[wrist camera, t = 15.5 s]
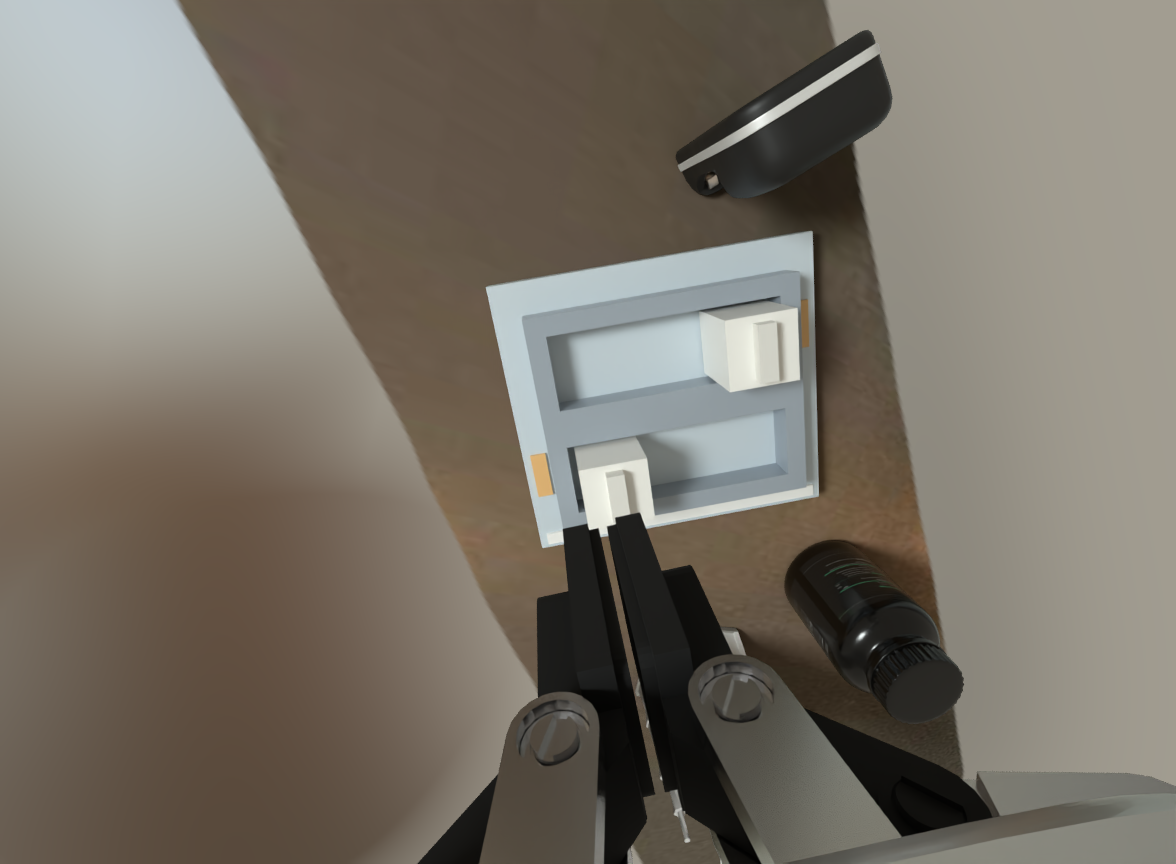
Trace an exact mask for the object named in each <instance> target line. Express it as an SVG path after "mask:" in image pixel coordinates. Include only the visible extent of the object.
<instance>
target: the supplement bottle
mask: <svg viewBox="0 0 1176 864" xmlns="http://www.w3.org/2000/svg"><path fill="white" fill-rule="evenodd" d="M785 593H786V596H787V599H788V601H789V602H790V604H791V606H792V607H793V609H794V610H795V612H796V613H797V614H798V616H799V617H800V619H801V620H802V622H803V623H804V624H805V626H806V627H807V629H808V630H809V631H810V633H811V634H812V636H813V637H814V639H815V640H816V641H817V643H818V644H819V646H820V647H821V648H822V650H823V651H824V653H825V654H826V656H827V657H828V658H829V660H830V661H831V663H832V664H833V666H834V667H835V668H836V670H837V671H838V673H839V674H840V675H841V676H842V677H843V679H844V680H845V681H846V682H848V683H849V684H850V685H852V686H853V687H855V688H857V689H859V690H861V691H864V692H867V693H871V694H873V696H874V697H875V698H876V699H877V700H878V701H879V702H880V703H881V704H882V705H883V707H884V708H885V709H886V710H887V712H888V713H889V714H890V715H891V716H892V717H894V718H895V719H896V720H899V721H901V722H902V723H908V724H912V723H913V724H918V723H925V722H927V721H932V720H933V719H936V718H939V717H940V716H941V715H943V714H945V713H946V712H947V711H948V710H950V709H951V708H952V706H953V705H954V704H956V702H957V700H958V699H959V698H960V696H961V693H962V691H963V685H964V683H963V679H964V678H963V677H962V672H961V671H960V670H959V668H958V666H957V665H956V664H955V663H954V662H953V661H952V660H951V659H950V658H949V657H948V656H947V654H946V653H945V652H944V651H943V649H942V648H941V647H940V638H939V633H938V629H937V627H936V624H935V623H934V621H933V619H932V618H931V617H930V616H929V615H928V614H927V613H926V611H925V610H924V609H923V608H922V607H921V606H919V605H918V604H917V603H916V602H915V601H914V600H913V599H912V598H911V597H910V596H909V595H908V594H907V593H906V592H905V591H904V590H902V589H901V588H900V587H899V586H898V585H897V584H896V583H895V582H894V581H893V580H892V579H891V578H890V577H889V576H888V575H887V574H885V573H884V572H883V571H882V570H881V569H880V568H879V567H878V566H877V565H876V564H875V563H874V562H873V561H872V560H871V559H870V558H868V557H867V556H866V555H865V554H864V553H863V552H862V551H861V550H859V549H858V548H857V547H855V546H853V545H851V544H849V543H846V542H842V541H825V542H821V543H817V544H815V545H812V546H810V547H808V548H807V549H805V550H804V551H802V552H801V553H800V554H799V555H798V556H797V557H796V558H795V559H794V560H793V562H792V563H791V565H790V566H789V568H788V571H787V573H786V577H785Z"/></svg>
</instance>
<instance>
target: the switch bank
mask: <svg viewBox="0 0 1176 864" xmlns="http://www.w3.org/2000/svg"><path fill="white" fill-rule="evenodd" d="M486 290H487V294H488V299H489V304H490V308H491V313H492V317H493V322H494V327H495V331H496V336H497V341H498V345H499V350H500V354H501V359H502V364H503V368H504V373H505V377H506V382H507V387H508V391H509V396H510V401H511V405H512V410H513V414H514V419H515V424H516V428H517V433H518V438H519V442H520V447H521V451H522V456H523V461H524V465H525V470H526V474H527V479H528V484H529V488H530V493H531V498H532V502H533V507H534V511H535V516H536V521H537V525H538V530H539V535H540V539H541V544H542V548H545V547H551V546H556V545H561V544H564V539H563V529H564V528H569V527H573V526H578V525H583V524H588V522H587V517H586V511H585V506H584V500H583V495H582V489H581V484H580V478H579V473H578V467H577V461H576V456H575V450H574V447H575V446H580V445H586V444H591V443H597V442H602V441H608V440H613V439H619V438H624V437H630V436H636V438H637V440H638V442H639V444H640V446H641V448H642V450H643V451H644V453H645V455H646V457H647V462H648V469H649V477H650V484H651V492H652V499H653V506H654V514H655V520H651V521H645V522H644V525H645V527H646V529H647V528H652V527H658V526H663V525H668V524H674V523H679V522H684V521H690V520H695V519H700V518H706V517H711V516H716V515H722V514H727V513H732V512H738V511H743V510H748V509H754V508H759V507H764V506H770V505H775V504H780V503H786V502H791V501H797V500H802V499H807V498H813V497H818V496H819V480H818V437H817V394H816V351H815V308H814V265H813V231H804V232H796V233H791V234H785V235H779V236H773V237H767V238H762V239H756V240H750V241H744V242H738V243H733V244H727V245H721V246H715V247H710V248H704V249H698V250H692V251H686V252H681V253H675V254H669V255H663V256H657V257H652V258H646V259H640V260H634V261H628V262H623V263H617V264H611V265H605V266H599V267H594V268H588V269H582V270H576V271H570V272H565V273H559V274H553V275H547V276H542V277H536V278H530V279H524V280H518V281H513V282H507V283H501V284H495V285H489V286H487V287H486ZM761 299H762V300H766V301H770V302H775V303H779V304H783V305H787V306H792V307H796V308H798V335H799V365H800V380H796V381H791V382H785V383H780V384H774V385H769V386H763V387H758V388H752V389H747V390H741V391H735V392H729V391H728V390H726V389H725V388H724V387H722V386H721V385H720V384H718V383H717V382H716V381H714V380H713V379H712V378H710V377H709V376H708V375H706V374H705V373H704V363H703V352H702V341H701V330H700V319H699V310H705V309H710V308H716V307H722V306H727V305H733V304H739V303H744V302H750V301H756V300H761ZM599 532H600V537H604V536H608V531H607V529H603V530H599Z"/></svg>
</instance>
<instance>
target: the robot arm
mask: <svg viewBox="0 0 1176 864" xmlns="http://www.w3.org/2000/svg"><path fill="white" fill-rule="evenodd" d="M615 522H616V524H615V525H610V526H607V531H608V536H609V541H610V546H611V551H612V556H613V560H614V565H615V570H616V575H617V580H618V585H619V590H620V595H621V600H622V605H623V610H624V614H625V619H626V624H627V629H628V634H629V638H630V643H631V647H632V651H633V656H634V660H635V664H636V669H637V673H638V677H639V682H640V686H641V690H642V695H643V699H644V703H645V708H646V712H647V716H648V721H649V725H650V729H651V733H652V738H653V742H654V746H655V751H656V755H657V759H658V764H659V768H660V772H661V777H662V781H663V785H664V789H665V792H669V791H673V790H677V792H678V796H679V800H680V804H681V807H682V811H685V813H686V814H688V815H689V816H691V817H692V818H694V819H695V820H697V821H699V822H700V823H702V824H703V825H705V826H706V827H708V828H709V829H710V833H711V836H712V840H713V843H714V846H715V848H716V850H717V852H718V855H719V857H720V859H721V861H722V864H1176V786H1174V785H1171V784H1168V783H1166V782H1163V781H1160V780H1158V779H1155V778H1153V777H1149V776H1143V775H1136V774H1130V773H1072V772H986V771H978V772H977V779H976V780H962V779H961V778H960V777H959V776H957V775H955V774H953V773H952V772H950V771H948V770H946V769H944V768H943V767H941V766H939V765H937V764H934V763H932V762H929V761H927V760H925V759H922V758H920V757H918V756H915V755H913V754H911V753H908V752H906V751H904V750H901V749H899V748H897V747H894V746H892V745H890V744H887V743H885V742H883V741H880V740H878V739H875V738H873V737H871V736H868V735H866V734H864V733H861V732H859V731H857V730H854V729H852V728H850V727H847V726H845V725H843V724H840V723H838V722H836V721H833V720H831V719H828V718H826V717H824V716H821V715H819V714H817V713H814V712H812V711H810V710H807V709H805V708H803V707H802V705H801V704H800V703H799V701H798V700H797V699H796V698H795V696H794V695H793V694H792V692H791V691H790V690H789V688H788V687H787V686H786V684H785V683H784V682H783V680H782V679H781V678H780V677H779V675H778V674H777V673H776V672H775V671H774V670H773V669H772V668H771V667H770V666H769V665H767V664H765V663H763V662H761V661H760V660H758V659H756V658H752V657H749V656H745V655H733V654H732V651H731V649H730V647H729V645H728V643H727V641H726V638H725V636H724V634H723V632H722V630H721V628H720V625H719V623H718V621H717V619H716V617H715V615H714V612H713V610H712V608H711V606H710V604H709V602H708V599H707V597H706V595H705V593H704V591H703V589H702V586H701V584H700V582H699V580H698V578H697V576H696V573H695V571H694V569H693V568H692V566H691V565H688V566H683V567H678V568H674V569H669V570H665V571H661V568H660V565H659V563H658V560H657V557H656V554H655V552H654V549H653V546H652V544H651V541H650V538H649V535H648V533H647V530H646V527H645V525H644V522H643V519H642V516H641V514H640V512H639V513H634V514H629V515H625V516H620V517H615ZM563 539H564V550H565V560H566V570H567V581H568V592H563V593H558V594H554V595H549V596H544V597H540V598H538V599H537V653H538V698H536V699H535V700H533V701H531V702H529V703H528V704H527V705H526V706H525V707H523V708H522V709H521V710H520V711H519V712H518V714H517V715H516V717H515V718H514V719H513V720H512V722H511V724H510V727H509V730H508V732H507V736H506V740H505V744H504V749H503V754H502V759H501V763H500V768H499V773H498V775H497V776H496V777H495V778H494V779H493V780H492V781H491V783H490V784H489V785H488V786H487V787H486V788H485V789H484V790H483V791H482V793H481V794H480V795H479V796H478V797H477V798H476V799H475V800H474V802H473V803H472V804H471V805H470V806H469V807H468V808H467V810H465V812H464V813H463V814H462V815H461V816H460V817H459V818H458V819H457V820H456V822H455V823H454V824H453V825H452V826H451V827H450V828H449V829H448V830H447V832H446V833H445V834H444V835H443V836H442V837H441V838H440V839H439V840H438V842H437V843H436V844H435V845H434V846H433V847H432V848H431V849H430V850H429V851H428V853H427V854H426V855H425V856H424V857H423V858H422V859H421V860H420V862H419V863H418V864H633V858H632V853H631V846H632V844H633V843H634V841H635V839H636V838H637V836H638V835H639V833H640V831H641V830H642V828H643V827H644V825H645V824H646V820H647V815H646V810H645V805H644V800H643V797H647V796H651V795H655V792H654V787H653V782H652V777H651V772H650V768H649V763H648V758H647V753H646V749H645V744H644V739H643V734H642V730H641V725H640V720H639V715H638V711H637V706H636V701H635V696H634V691H633V687H632V682H631V677H630V672H629V668H628V663H627V658H626V654H625V649H624V644H623V640H622V635H621V630H620V626H619V621H618V616H617V611H616V607H615V602H614V597H613V593H612V588H611V583H610V579H609V574H608V569H607V565H606V560H605V555H604V551H603V546H602V541H601V537H600V532H599V528H596V529H592V530H589V528H588V524H583V525H578V526H573V527H569V528H564V529H563Z"/></svg>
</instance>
